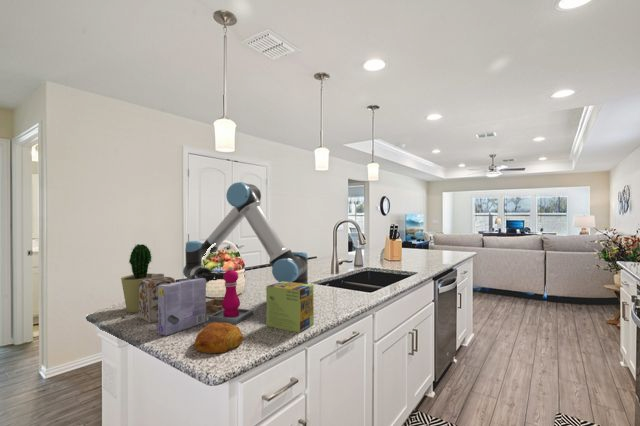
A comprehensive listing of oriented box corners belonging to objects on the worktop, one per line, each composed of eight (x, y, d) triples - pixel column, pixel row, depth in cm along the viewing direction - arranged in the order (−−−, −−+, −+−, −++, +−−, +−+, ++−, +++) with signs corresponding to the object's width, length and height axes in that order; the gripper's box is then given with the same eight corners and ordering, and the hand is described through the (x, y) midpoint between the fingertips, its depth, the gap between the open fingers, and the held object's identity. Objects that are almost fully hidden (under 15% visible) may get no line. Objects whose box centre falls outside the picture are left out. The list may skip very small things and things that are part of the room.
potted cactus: (114, 314, 142) (113, 244, 142) (131, 304, 157) (130, 241, 157) (151, 313, 143) (150, 244, 143) (164, 303, 158) (164, 241, 158)
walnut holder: (235, 306, 152) (235, 300, 152) (220, 313, 142) (220, 306, 142) (214, 304, 156) (214, 298, 156) (199, 311, 145) (199, 304, 145)
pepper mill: (218, 315, 136) (218, 266, 136) (233, 311, 141) (233, 264, 141) (228, 318, 131) (227, 268, 131) (243, 314, 137) (243, 266, 137)
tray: (253, 314, 140) (253, 309, 140) (236, 324, 128) (236, 319, 128) (226, 311, 144) (226, 307, 144) (208, 321, 132) (208, 316, 132)
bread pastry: (214, 341, 118) (212, 318, 118) (250, 341, 111) (248, 317, 112) (183, 356, 104) (180, 330, 105) (222, 357, 98) (219, 330, 99)
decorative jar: (148, 323, 130) (148, 278, 130) (138, 317, 138) (137, 274, 138) (178, 316, 139) (178, 273, 139) (167, 311, 146) (166, 270, 146)
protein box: (300, 333, 119) (300, 290, 119) (265, 326, 126) (265, 285, 126) (314, 324, 128) (314, 284, 128) (281, 318, 135) (281, 280, 135)
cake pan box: (200, 319, 135) (200, 276, 135) (209, 321, 132) (208, 277, 132) (156, 334, 118) (156, 285, 118) (165, 337, 116) (165, 286, 116)
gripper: (225, 278, 168) (246, 285, 152) (174, 286, 151) (192, 295, 135) (225, 264, 168) (246, 269, 152) (174, 270, 151) (191, 276, 135)
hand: (220, 281), depth 143 cm, fingers open, 13 cm apart
